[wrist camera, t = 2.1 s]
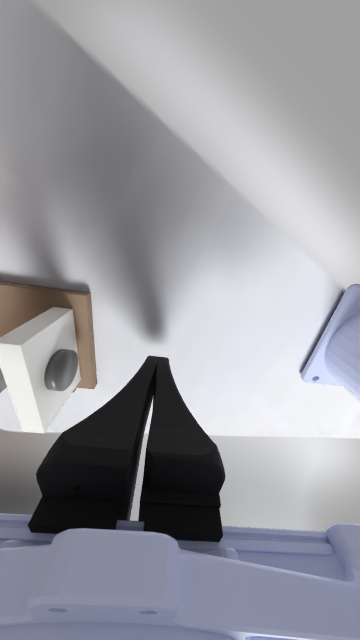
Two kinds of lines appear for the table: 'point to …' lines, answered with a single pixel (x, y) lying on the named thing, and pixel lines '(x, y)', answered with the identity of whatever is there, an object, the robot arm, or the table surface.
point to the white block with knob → (41, 367)
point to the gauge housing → (30, 301)
